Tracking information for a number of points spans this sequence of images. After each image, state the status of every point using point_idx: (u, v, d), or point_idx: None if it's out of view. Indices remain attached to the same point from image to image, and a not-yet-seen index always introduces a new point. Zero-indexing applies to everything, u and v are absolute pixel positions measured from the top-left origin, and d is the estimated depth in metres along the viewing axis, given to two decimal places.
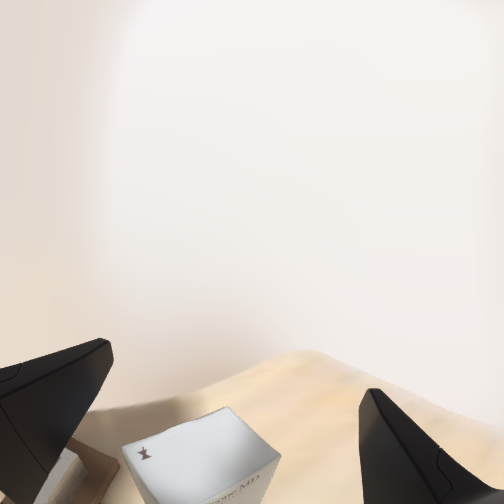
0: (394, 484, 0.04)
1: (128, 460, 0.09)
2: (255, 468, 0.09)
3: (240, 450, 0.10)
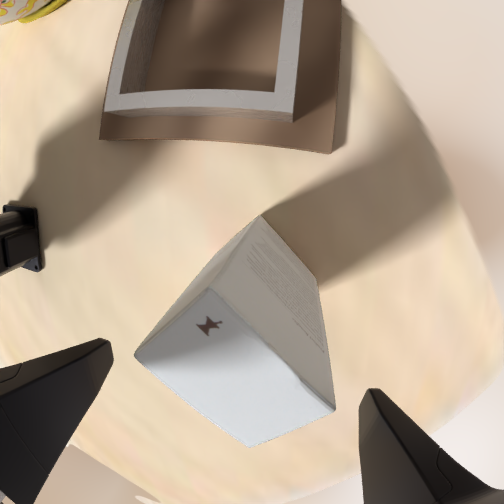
0: (394, 484, 0.04)
1: (191, 302, 0.08)
2: (224, 430, 0.09)
3: (249, 423, 0.09)
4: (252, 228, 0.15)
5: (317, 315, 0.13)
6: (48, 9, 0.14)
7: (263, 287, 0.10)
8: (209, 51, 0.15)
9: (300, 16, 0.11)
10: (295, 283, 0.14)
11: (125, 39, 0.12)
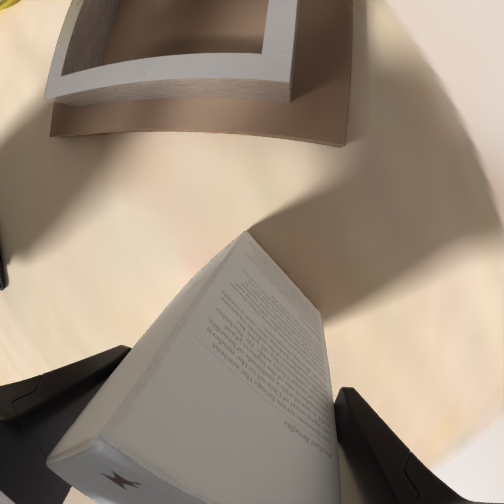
0: (360, 487, 0.05)
1: (84, 442, 0.03)
2: None
3: None
4: (229, 257, 0.10)
5: (323, 385, 0.09)
6: None
7: (234, 382, 0.05)
8: (180, 17, 0.10)
9: None
10: (293, 340, 0.09)
11: (74, 10, 0.08)
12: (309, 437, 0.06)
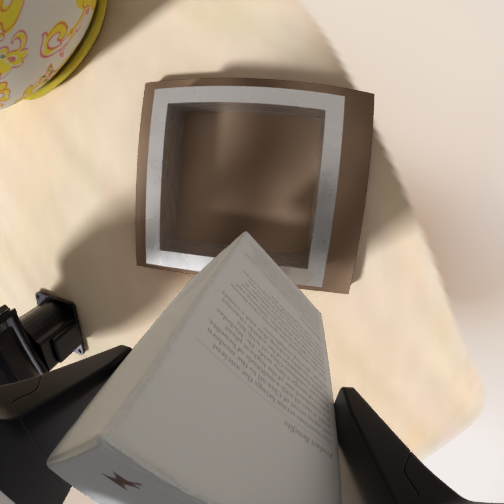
0: (360, 487, 0.05)
1: (85, 443, 0.03)
2: None
3: None
4: (229, 258, 0.10)
5: (323, 386, 0.09)
6: (48, 90, 0.18)
7: (235, 383, 0.05)
8: (240, 192, 0.19)
9: (336, 183, 0.15)
10: (293, 340, 0.09)
11: (154, 186, 0.16)
12: (309, 437, 0.06)
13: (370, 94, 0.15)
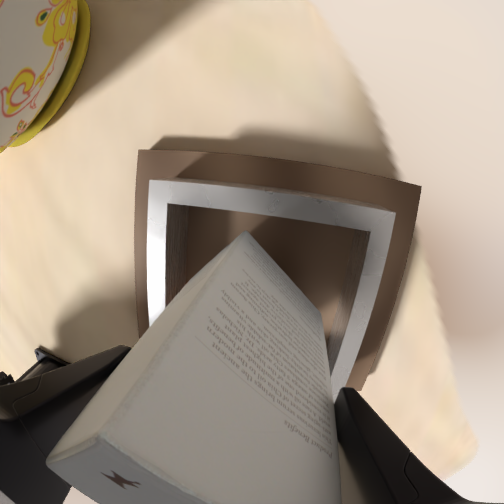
0: (360, 487, 0.05)
1: (83, 442, 0.03)
2: None
3: None
4: (229, 257, 0.10)
5: (323, 385, 0.09)
6: (27, 139, 0.15)
7: (234, 382, 0.05)
8: None
9: (368, 316, 0.13)
10: (293, 340, 0.09)
11: (158, 303, 0.14)
12: (309, 437, 0.06)
13: (417, 187, 0.13)
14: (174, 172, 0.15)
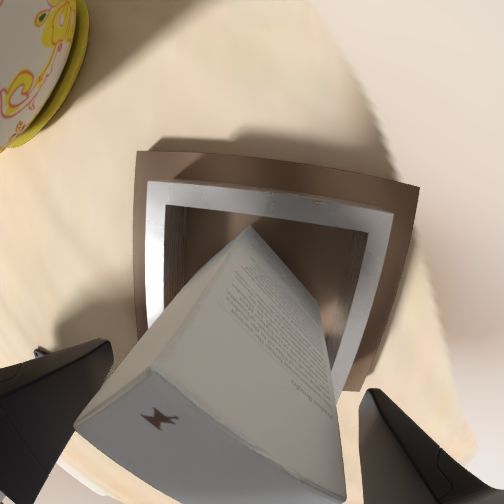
0: (394, 484, 0.04)
1: (129, 383, 0.04)
2: None
3: None
4: (238, 245, 0.11)
5: (322, 360, 0.10)
6: (25, 140, 0.15)
7: (250, 341, 0.07)
8: None
9: (366, 317, 0.13)
10: (294, 319, 0.11)
11: (156, 304, 0.14)
12: (312, 397, 0.07)
13: (415, 188, 0.13)
14: (172, 173, 0.15)
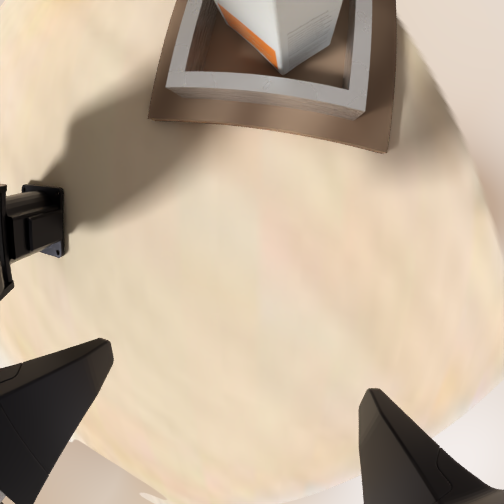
0: (394, 484, 0.04)
1: None
2: None
3: None
4: None
5: None
6: None
7: None
8: None
9: (370, 22, 0.11)
10: None
11: (191, 17, 0.12)
12: None
13: None
14: None
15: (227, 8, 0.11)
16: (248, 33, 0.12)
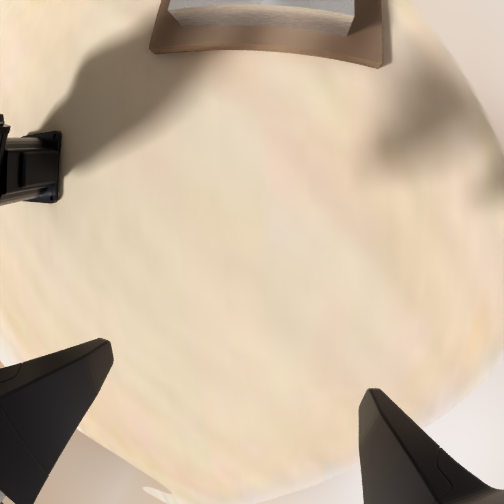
0: (394, 484, 0.04)
1: None
2: None
3: None
4: None
5: None
6: None
7: None
8: None
9: None
10: None
11: None
12: None
13: None
14: None
15: None
16: None
